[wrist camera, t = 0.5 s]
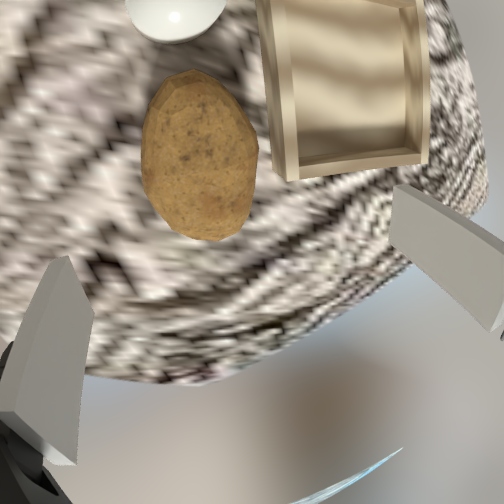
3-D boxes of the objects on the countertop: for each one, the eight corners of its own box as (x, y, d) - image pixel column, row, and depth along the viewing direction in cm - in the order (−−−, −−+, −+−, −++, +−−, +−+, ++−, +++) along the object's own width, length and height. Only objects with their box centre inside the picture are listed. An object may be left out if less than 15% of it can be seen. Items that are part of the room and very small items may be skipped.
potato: (236, 66, 25) (261, 58, 18) (253, 204, 32) (279, 239, 25) (128, 85, 23) (114, 83, 16) (159, 225, 30) (159, 267, 24)
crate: (253, -16, 20) (266, -30, 17) (399, 2, 23) (422, -2, 20) (272, 170, 31) (286, 181, 27) (405, 154, 34) (427, 163, 30)
